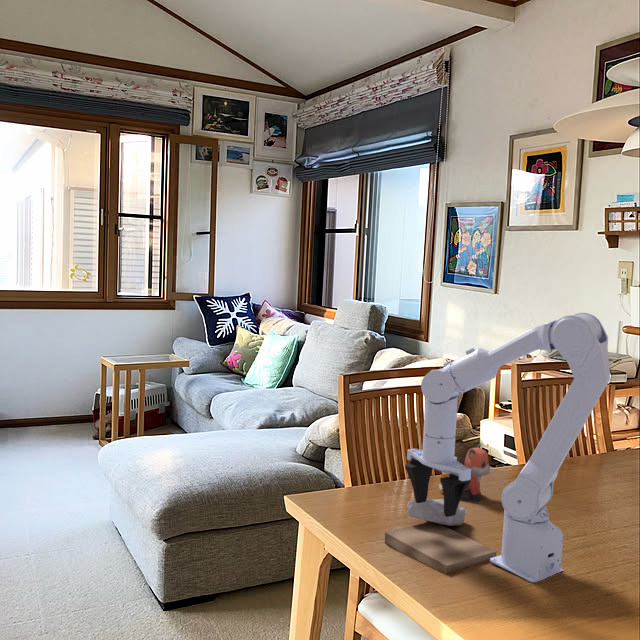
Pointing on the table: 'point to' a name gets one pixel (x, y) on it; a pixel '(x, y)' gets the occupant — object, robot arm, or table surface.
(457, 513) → the stone block
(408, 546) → the walnut base
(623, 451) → the table surface
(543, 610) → the table surface
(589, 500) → the table surface
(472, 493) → the stuffed fox
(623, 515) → the table surface
